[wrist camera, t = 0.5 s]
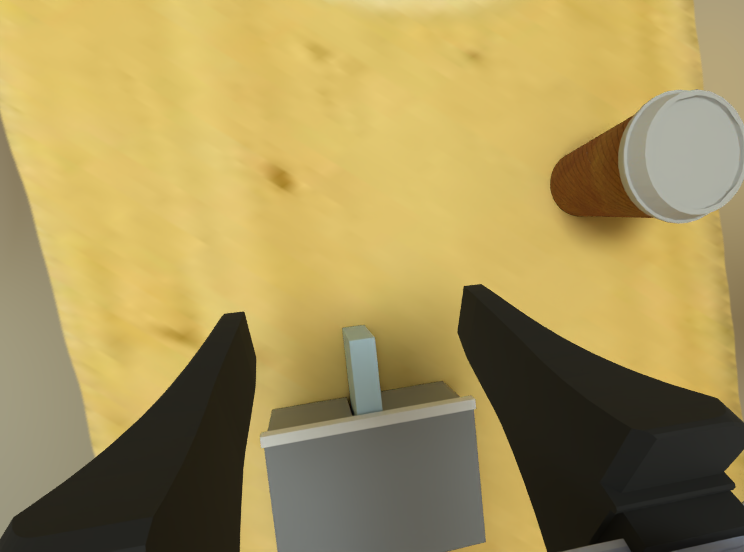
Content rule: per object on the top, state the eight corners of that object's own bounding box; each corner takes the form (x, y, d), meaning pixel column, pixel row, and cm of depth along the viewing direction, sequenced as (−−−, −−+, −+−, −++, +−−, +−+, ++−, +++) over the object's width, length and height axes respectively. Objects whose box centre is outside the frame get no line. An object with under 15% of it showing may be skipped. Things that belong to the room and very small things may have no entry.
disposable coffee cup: (559, 118, 38) (673, 56, 26) (634, 163, 40) (774, 124, 28) (519, 205, 38) (617, 183, 26) (597, 248, 40) (721, 244, 28)
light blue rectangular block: (380, 472, 36) (393, 509, 31) (359, 476, 36) (368, 515, 31) (363, 324, 36) (374, 337, 30) (342, 327, 35) (349, 341, 30)
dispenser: (454, 490, 38) (488, 541, 31) (284, 527, 36) (280, 592, 29) (443, 372, 37) (475, 398, 30) (268, 401, 35) (259, 437, 28)
